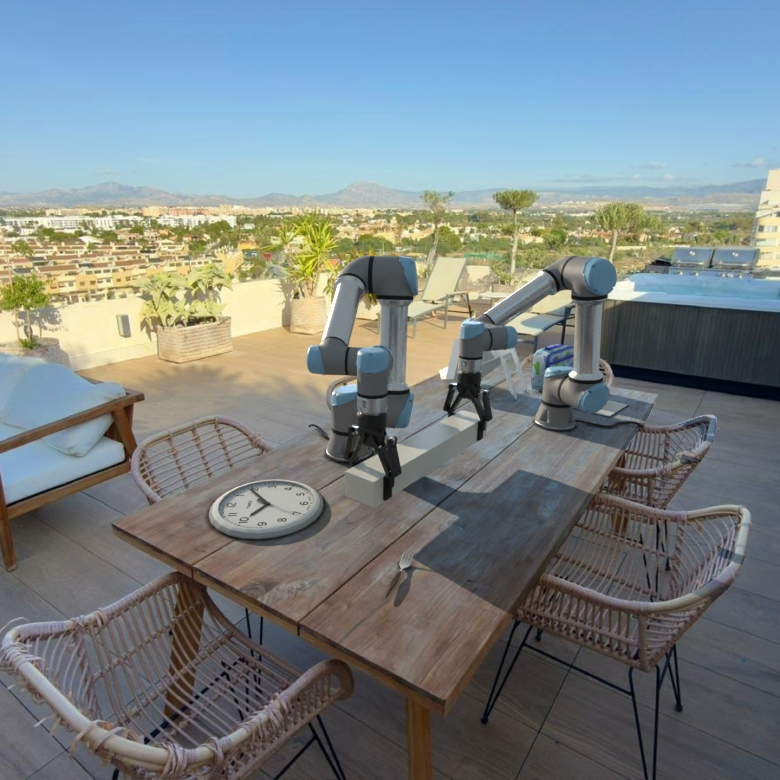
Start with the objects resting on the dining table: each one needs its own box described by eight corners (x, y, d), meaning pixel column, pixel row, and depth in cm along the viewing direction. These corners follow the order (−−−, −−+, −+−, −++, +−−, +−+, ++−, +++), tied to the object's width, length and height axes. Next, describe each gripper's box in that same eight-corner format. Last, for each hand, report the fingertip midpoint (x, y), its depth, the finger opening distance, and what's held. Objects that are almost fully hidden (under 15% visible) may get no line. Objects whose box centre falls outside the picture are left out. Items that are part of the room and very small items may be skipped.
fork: (379, 598, 107) (379, 590, 107) (404, 554, 122) (404, 547, 121) (391, 601, 106) (391, 593, 106) (415, 557, 121) (415, 549, 120)
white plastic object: (461, 429, 252) (437, 405, 227) (444, 352, 274) (420, 323, 250) (535, 404, 240) (518, 377, 215) (510, 326, 262) (492, 293, 237)
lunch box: (547, 396, 238) (552, 351, 232) (526, 391, 246) (531, 347, 239) (574, 385, 256) (579, 343, 250) (554, 380, 263) (559, 340, 257)
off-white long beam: (461, 429, 180) (462, 410, 178) (485, 436, 174) (487, 416, 172) (344, 496, 134) (344, 471, 132) (373, 508, 129) (373, 482, 127)
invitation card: (608, 416, 214) (573, 407, 224) (608, 416, 214) (573, 408, 224) (628, 404, 229) (594, 396, 238) (628, 405, 229) (594, 397, 238)
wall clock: (321, 531, 127) (194, 535, 125) (321, 537, 128) (195, 541, 125) (325, 475, 156) (222, 477, 153) (325, 480, 156) (222, 482, 154)
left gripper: (328, 405, 132) (330, 484, 139) (400, 425, 119) (398, 512, 126) (348, 398, 138) (348, 474, 144) (418, 416, 125) (415, 499, 132)
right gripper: (433, 367, 170) (431, 431, 176) (496, 379, 157) (491, 447, 164) (445, 362, 175) (442, 424, 182) (507, 374, 163) (501, 440, 170)
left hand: (371, 492), depth 135 cm, fingers closed on off-white long beam, 9 cm apart
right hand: (465, 435), depth 173 cm, fingers closed on off-white long beam, 9 cm apart
